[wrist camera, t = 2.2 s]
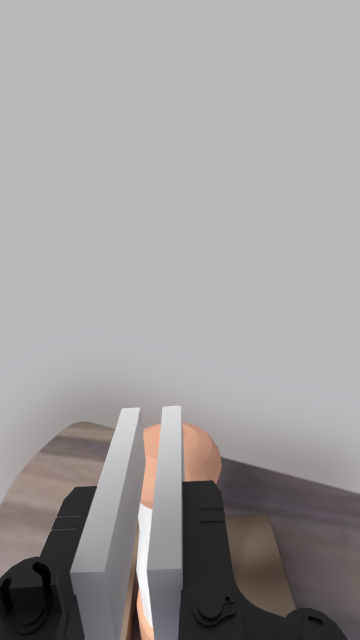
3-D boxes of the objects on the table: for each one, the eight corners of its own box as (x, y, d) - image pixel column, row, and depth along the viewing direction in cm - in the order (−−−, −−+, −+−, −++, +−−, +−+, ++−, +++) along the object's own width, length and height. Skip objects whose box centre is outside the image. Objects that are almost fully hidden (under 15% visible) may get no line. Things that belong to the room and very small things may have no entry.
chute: (317, 711, 22) (319, 687, 21) (50, 718, 22) (44, 696, 22) (267, 532, 35) (267, 514, 34) (98, 538, 35) (95, 521, 35)
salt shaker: (183, 710, 23) (165, 487, 17) (123, 624, 28) (93, 431, 22) (244, 621, 27) (244, 425, 22) (183, 562, 32) (171, 391, 27)
